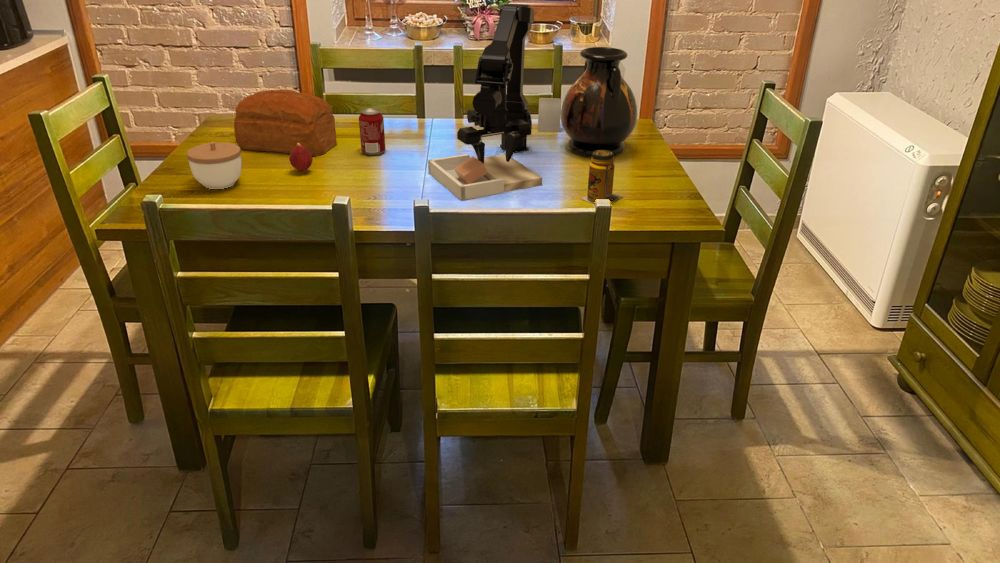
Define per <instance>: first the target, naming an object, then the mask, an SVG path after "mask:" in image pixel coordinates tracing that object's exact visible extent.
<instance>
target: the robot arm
mask: <svg viewBox="0 0 1000 563" xmlns="http://www.w3.org/2000/svg"><path fill="white" fill-rule="evenodd" d="M534 21H535V9H533V8H531V5H530V4H521V3H504V4H501V5H500V6H499V18H498V21H497V22H498V23H497V25H496V28H495V31H494V34H493V39H492V40H491V43H490V44H488V45H487V46H486V47H484V49H483V51H482V53H481V56H479V58H478V62H477V63H478V64H477V68H476V73H475V80H474V84H475V85H480V90H479V91H478V92H476V94H475V95H474V96H473V99H472V107H473V109H469V110H467V112H466V114H467V115H466V119H467V122H468V123H469V124H472V123H473V124H474V126H475V127H479V128H483V129H476V128H475V127H473V126H466V127H465V126H464V127H460V128H458V131H457V132H456V135H457V138H456V139H457V140H458V141H459V142H461V143H463V144H464V145H466V146H470V145H471V146H472V148H473V150H474V152H475V155H476V157H477V158H478V160H479V161H481V162H482V163H483V164H484V157H485V150H486V149H485V147H486V145H485V143H484V142H483V140H482V139H483V138H485V137H493V136H498V135H501V144H500V145H499V147H500V148H502V149H503V150H504V151H505V154H506V161H507V162H509V161H510V159H511V157H512V158H513V155H514V153H518V152H523V151H529V150H530V147H528V146H527V143H528V141H527V140H528V139H527V138H528V136H531V135H532V130H533V123H532V122H533V121H532V120H533V119H532V116H531V111H530V110H529V102H528V100H527V99H526V97H525V94H524V72H525V71H524V69H525V50H526V49H525V48H526V39H527V36H529V34H530V32H531V30H532V25H533V23H534ZM477 158H476V159H477Z"/></svg>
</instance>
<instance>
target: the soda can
mask: <svg viewBox="0 0 1000 563" xmlns="http://www.w3.org/2000/svg"><path fill="white" fill-rule="evenodd" d="M384 120H385V119H384V115H383V114H382V113H381V109H380V108H376V107H375V108H372V107H370V108H363V109H361V110H360V114H359V116H358V126H359V138H360V150H361V152H362V153H363V154H365V155H366V156H378V155H381V154H384V152H386V139H385V138H386V136H385V124H384V123H385V122H384Z"/></svg>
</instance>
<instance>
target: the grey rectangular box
mask: <svg viewBox="0 0 1000 563" xmlns="http://www.w3.org/2000/svg"><path fill="white" fill-rule="evenodd" d="M561 109H562V98H556V97H555V98H554V97H551V98H548V97H539V98H538V114H537V115H538V116H537V132H538V133H561V132H560V131H561Z"/></svg>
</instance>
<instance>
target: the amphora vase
mask: <svg viewBox="0 0 1000 563" xmlns="http://www.w3.org/2000/svg"><path fill="white" fill-rule="evenodd" d="M579 54H580V56H581V58H583V59H585V61H584V68H583V74H582V75H581V76H580V77H579V78H577V80H576V81H575V82H574V83H572V85H571V86H570V87H569V89H568V91H567V92H566V94H565V96H564V98H563V101H562V104H561V117H560V123H561V125H562V129H563V130H564V133H565V134H566V135H567V136H568V137H569V138H570V139H569V141H568V143H567V148H568V149H569V150H570V151H571V152H573V153H574V154H575V155H578V156H582V157H585V158H592V153H593V152H594V151H596V150H608V151H611V152H612V153H613V154H614V157H617V156H619V155H620V154H622V153H623V152H624V151H625V149H626V146H625V142H624V141H626V139H628V138H629V137H630V136H631V134H632V133H633V131H634V129H635V128H636V125H637V121H638V105H637V102H636V97H635V94H634V93H633V90H632V87H630V85H629V84H628V83H627V82H626V80H625V79H624V77H623V76H622V74H621V69H620V68H619V67H620V63H621V61H623V60H626V59H627V58H628V56H629V54H628V53H627V51H625V50H623V49H620V48H616V47H609V46H608V47H605V46H593V47H587V48H584V49H582V50H581V51H580V52H579Z"/></svg>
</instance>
